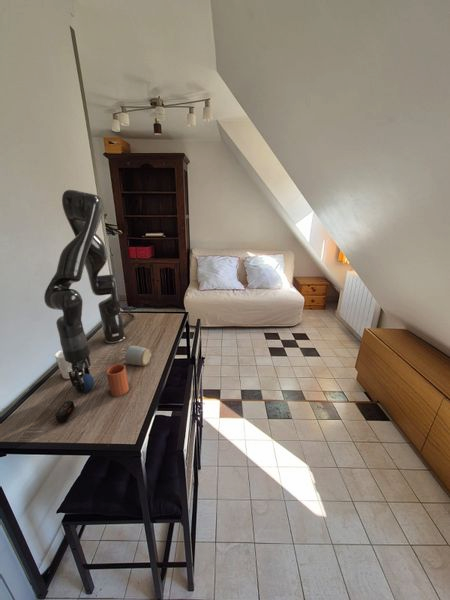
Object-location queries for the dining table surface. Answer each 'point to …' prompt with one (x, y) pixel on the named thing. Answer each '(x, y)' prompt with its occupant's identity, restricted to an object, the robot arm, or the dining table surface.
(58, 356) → the white cup
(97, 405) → the dining table surface
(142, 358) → the ceramic mug
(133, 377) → the dining table surface
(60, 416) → the wireless earbuds
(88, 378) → the ball
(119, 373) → the cup
